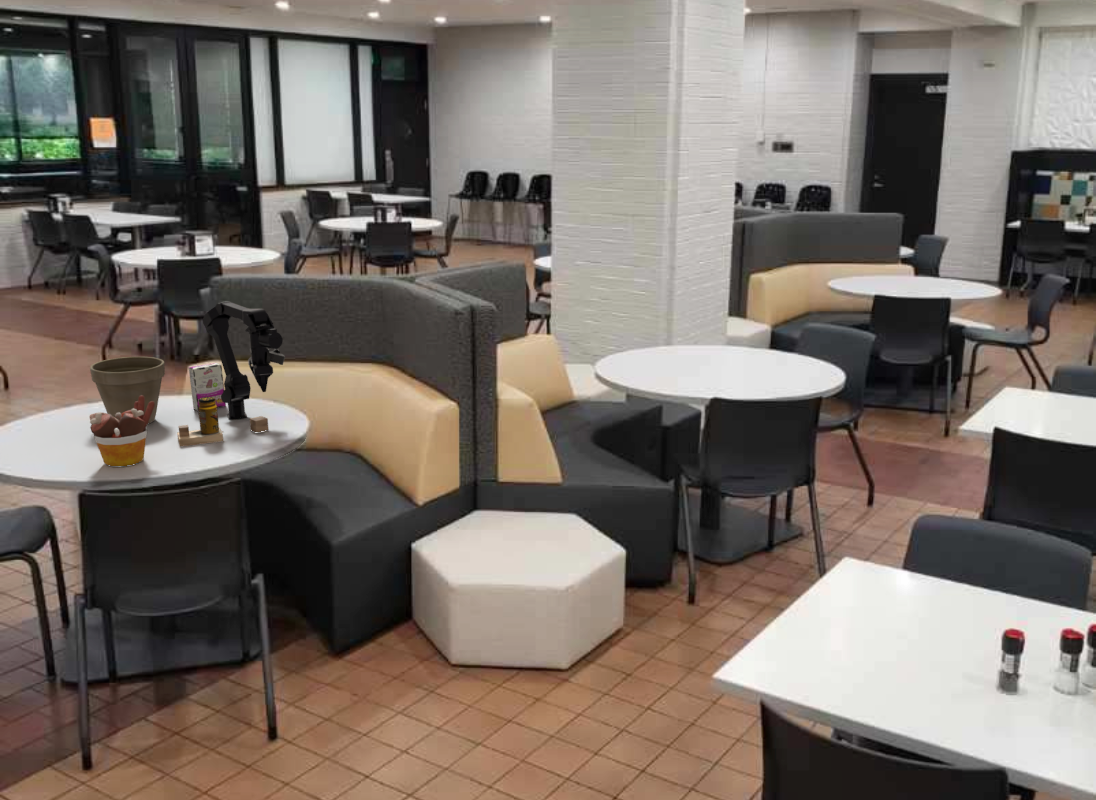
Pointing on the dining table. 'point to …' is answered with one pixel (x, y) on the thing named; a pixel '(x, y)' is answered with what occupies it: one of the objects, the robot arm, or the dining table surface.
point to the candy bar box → (206, 383)
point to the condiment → (207, 417)
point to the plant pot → (128, 382)
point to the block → (259, 424)
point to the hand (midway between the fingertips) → (262, 389)
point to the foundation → (195, 437)
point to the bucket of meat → (122, 434)
